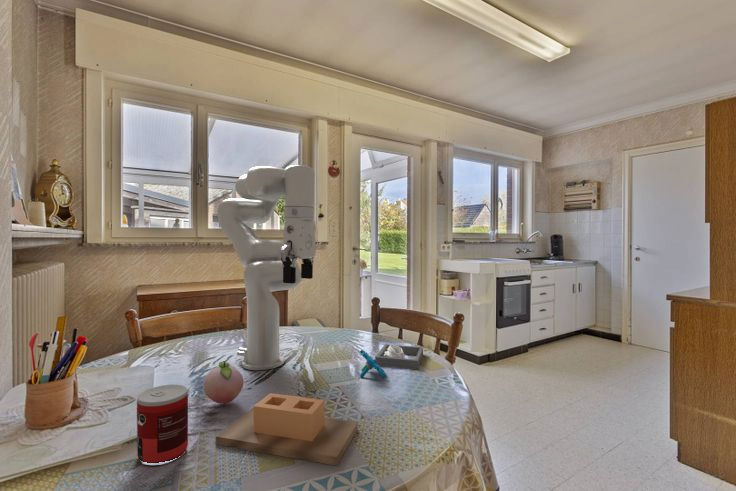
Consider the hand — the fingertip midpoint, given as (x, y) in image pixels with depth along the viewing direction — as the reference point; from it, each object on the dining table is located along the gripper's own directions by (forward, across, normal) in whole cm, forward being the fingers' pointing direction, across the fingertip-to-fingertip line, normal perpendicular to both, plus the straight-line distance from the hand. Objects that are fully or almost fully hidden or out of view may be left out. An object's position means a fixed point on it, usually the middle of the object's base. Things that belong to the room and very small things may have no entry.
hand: (298, 280), depth 93 cm
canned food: (+28, -34, +9) cm, 45 cm away
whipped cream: (+28, +28, -20) cm, 44 cm away
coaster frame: (+28, +28, -22) cm, 45 cm away
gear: (+28, +12, -17) cm, 35 cm away
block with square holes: (+26, -22, -10) cm, 35 cm away
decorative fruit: (+28, -15, +11) cm, 34 cm away
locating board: (+27, -23, -10) cm, 37 cm away
